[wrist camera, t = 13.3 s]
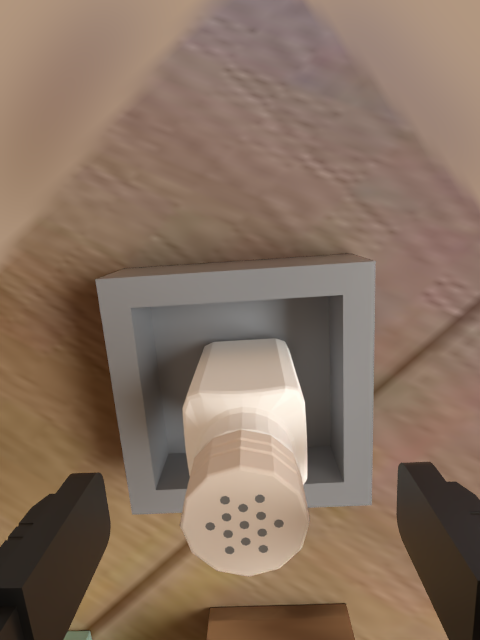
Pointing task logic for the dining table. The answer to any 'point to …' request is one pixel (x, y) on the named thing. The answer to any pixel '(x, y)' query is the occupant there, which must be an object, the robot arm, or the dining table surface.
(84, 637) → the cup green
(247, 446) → the salt shaker
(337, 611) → the cubby walnut
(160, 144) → the dining table surface
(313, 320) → the caddy
